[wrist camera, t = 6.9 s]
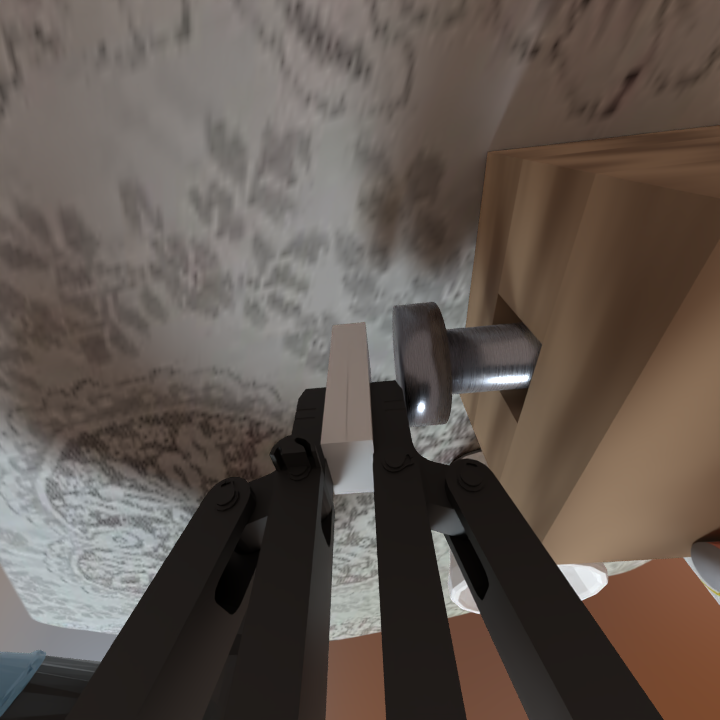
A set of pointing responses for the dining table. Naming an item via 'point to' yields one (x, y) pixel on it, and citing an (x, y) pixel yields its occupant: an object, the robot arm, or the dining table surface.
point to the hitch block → (606, 341)
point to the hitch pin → (455, 360)
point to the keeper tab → (707, 562)
